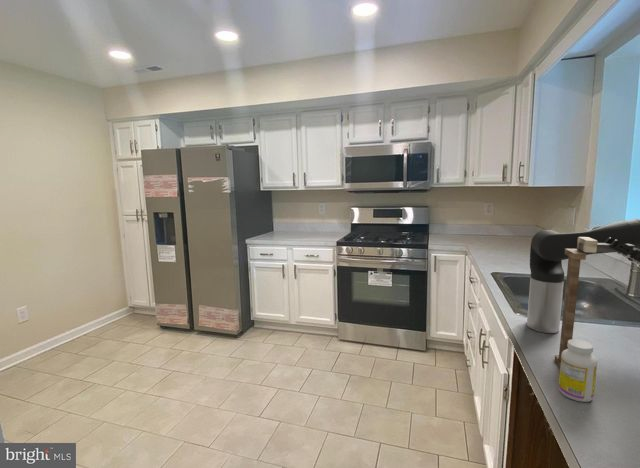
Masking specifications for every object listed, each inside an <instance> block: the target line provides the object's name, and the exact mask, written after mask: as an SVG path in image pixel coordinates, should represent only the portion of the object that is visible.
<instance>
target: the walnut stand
mask: <svg viewBox="0 0 640 468" xmlns="http://www.w3.org/2000/svg"><path fill="white" fill-rule="evenodd" d="M565 255H567V256H569V258H568V259H567V261H568V262H567V270H566V271H567V272H566V278H565V290H564V299H563V309H562V319H561V320H562V321H561V329H560V330H561V331H560V340H559V351H558V354H554V361H555V362H556V364H557V366H558V367H559V368H560V365H561V354H562V352H563V351H564V350H566V349H568V346H567V344H568V340H571V339H573V336H574V335H573V334H574V329H575V327H574V326H575V318H576V317H575V316H576V306H577V299H578V298H577V296H578V288H579V278H580V271H581V270H580V268H581V260H583V261H585V260H586V259H587V255H586V254H585V253H583V252H581V251H579V250H578V249H565Z"/></svg>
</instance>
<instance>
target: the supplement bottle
mask: <svg viewBox="0 0 640 468" xmlns="http://www.w3.org/2000/svg"><path fill="white" fill-rule="evenodd" d="M567 346H568V349H566V350H564V351H563V352H562V354H561V365H560V367H559V376H558V377H559V378H558V390H559V392H560V393H561V394H562V395H563V396H564V397H566V398H568V399H570V400H573V401H577V402H583V403H584V402H585V403H587V402H590V401H593V399H594V396H595V388H596V387H595V385H596V376H597V369H598V368H597V367H598V360H597V358H596V357H595V355H593V354H592V353H593V352H594V346H593V344H591V343H589V342H588V341H585V340H582V339H577V338H576V339H575V338H572V339H571V340H568V344H567Z"/></svg>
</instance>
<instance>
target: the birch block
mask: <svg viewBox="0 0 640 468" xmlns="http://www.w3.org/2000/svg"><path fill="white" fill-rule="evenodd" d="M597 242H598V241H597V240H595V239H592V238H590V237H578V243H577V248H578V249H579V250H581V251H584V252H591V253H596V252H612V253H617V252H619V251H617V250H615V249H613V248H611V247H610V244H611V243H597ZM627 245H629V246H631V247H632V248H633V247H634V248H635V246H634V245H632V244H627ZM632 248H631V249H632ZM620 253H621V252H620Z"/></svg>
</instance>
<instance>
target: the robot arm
mask: <svg viewBox="0 0 640 468" xmlns="http://www.w3.org/2000/svg"><path fill="white" fill-rule="evenodd" d="M578 237H590V238H592V239H595V240H597V241H598V242H597V243H611V244H610V247H611V248H613V249H615V250H617V251H619V252H616V254H618V255H621V256H623V257H625V259H626V260H627V261H629V262H631V263H633V264H634V265H636V266H637V267H639V268H640V218H634V219H625V220H620V221H615V222H610V223H607V224H605V225H602V226H599V227H596V228H594V229H592V230H586V231H579V232H563V233H562V232H557V231H555V230H553V229H542V230H540V231H538V232H536V233H535V234H534V235H533V236H532V238H531V242H530V250H529V269H530V277H529V280H530V281H529V294H528V305H527V317H526V326H527V327H528V328H529V329H532V330H534V331H535V332H539V333H544V334H556V333H559V331H560V324H561V315H562V306H563V305H562V304H563V294H564V283H565V271H564V269H563V265H562V262H563V261H565V260H568V258H569V256H567V255H565V249H578V248H577V243H578ZM627 244H632V245H634V246H635V248H634V247H633V248H632V247H631V246H629V245H627ZM631 248H632V249H631ZM578 250H579V249H578ZM579 251H581V250H579ZM581 252H583V253H585V254H586V256H588V255H596V254H597V255H598V254H609V253H613V252H596V253H591V252H584V251H581ZM620 252H621V253H620Z"/></svg>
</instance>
